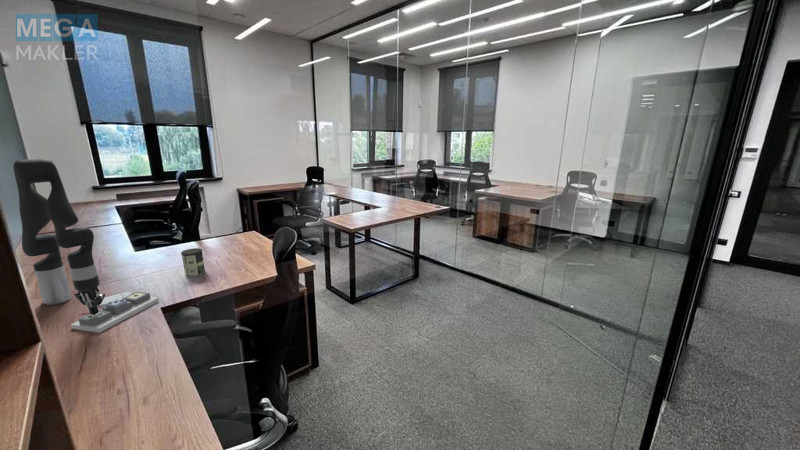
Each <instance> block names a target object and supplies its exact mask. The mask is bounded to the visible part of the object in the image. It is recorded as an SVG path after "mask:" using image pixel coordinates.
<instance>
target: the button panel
mask: <svg viewBox="0 0 800 450" xmlns="http://www.w3.org/2000/svg"><path fill="white" fill-rule="evenodd" d="M135 293H142V294H145V295H143V296H141V297H139V298H137V299H130V298H127V297H129V296H131V295H133V294H135ZM131 295H129V296H127V297H124V298H122V299H123V300H127V303H126V304H124V305H122V306H120V307H118V308H116V309H114V308H106V306H102V307H101V310H100V309H98V312H103V313H106V314H104V315H102V316H100V317H98V318H96V319H93V320H92V319H85V318H84V317H86V316H88V315H90V313H87V314H86V315H84V316H81V317H79V318H78V320H77V321H75V322H73V323H71V324H70V327H71V329H73V330H77V331H78V330H79V331H84V332H91V333H97V334H98V333H102V332H104V331H106V330H108V329H109V328H111V327H114V326H115V325H117V324H118V323H121V322H122V321H125V320H127V319H128V318H130V317H132V316H134V315H136V314H138V313H140V312H142V311H143V310H145V309H147V308H149V307H151V306H153V305H154V304H155V305H156V303H159V302H160V300H159V297H156V296H151V294H150V292H145V291H143V292H142V291H135V292H133V293H132V294H131Z"/></svg>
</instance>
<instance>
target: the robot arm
mask: <svg viewBox="0 0 800 450" xmlns="http://www.w3.org/2000/svg"><path fill="white" fill-rule="evenodd" d="M12 166H13V167H12V168H13V172H14V173H13V174H14V177H15V183H16V186H17V192H18V201H19V202H18V205H19V208H18V209H19V215H20V222H21V227H22V228H21V230H22V231H21V249H22V251H23V252H24V254H25V256H28V257H39V256H43V255H47V256H45V257H44V258H42V259H41V260H39V261H37V262H35V263H34V264H33V269H34V273H35V276H36V280H37V282H38V285H37V286H38V289H39V292H40V296H41V299H42V302H43V303H44V305H45V304H46V306H52V305H57V304H63V303H64V302H65V303H66V302H68V301H69V300H71V299H72V298H73V296H72V293H71V290H70V289H71V288H70V286H69V282H68V277H67V274H66V270H65V267H64V263H63V260H62V256H61V255H62V254H61V250H60V248H63V249H71V248H75V247H79V248H78V249H76V250H74V251H73V252H72V251H71V252H69V254H68V255H67V261H68V265H69V268H70V276H71V280H72V283H73V287H74V290H76V291H78V292H75V293H74V297H76V299H77V300H78V301H79V302H80V303H81V304H82V305H83V306H86V308H88V312H89V314H90V315H95V314H97V313H98V310H99V308H98V305H99V304H101V303H102V301H103V299H104V298H105V297H106V294H105V293H101V292H100V290H99V288H98V287H99V286H100V278H99V274H98V269H97V266H96V265H95V262H94V258H93V257H94V256H93V245H94V240H95V239H94V238H95V237H94V232H93V230H92V229H90V228H89V227H87V226H81V227H80V226H79V227H76V228H70V227H72V226H74V225H76V224H77V223H78V222H79V219H78V216H77V214H76V211H74V209H73V207H72V205H71V203H70V200H69V199H68V196H67V193H66V190H65V188H64V185H63V182H62V178H61V176H60V173H59V170H58V168H57V166H56V165H55V163H54V162H53V161H52V160H51V159H48V158H33V159H30V158H29V159H18V160H15V161H14V163H13V165H12ZM39 183H49V184H50V186H51V189H50V193H49V196H48V197H47V198H46V197H45V196H44V195H42V194H40V193H39V192H38V191H36V190H35V189H34V188H33V187H32V186H31V185H32V184H39ZM51 221H52V223H53V227H54V232H55V234H54V233H50V232H49V233H43V234H39V233H40V231H42V230H43V229H44V228H45V227H46V226H47V225H48V224H49V223H50V222H51ZM67 228H69V229H67ZM99 306H100V305H99Z"/></svg>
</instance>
